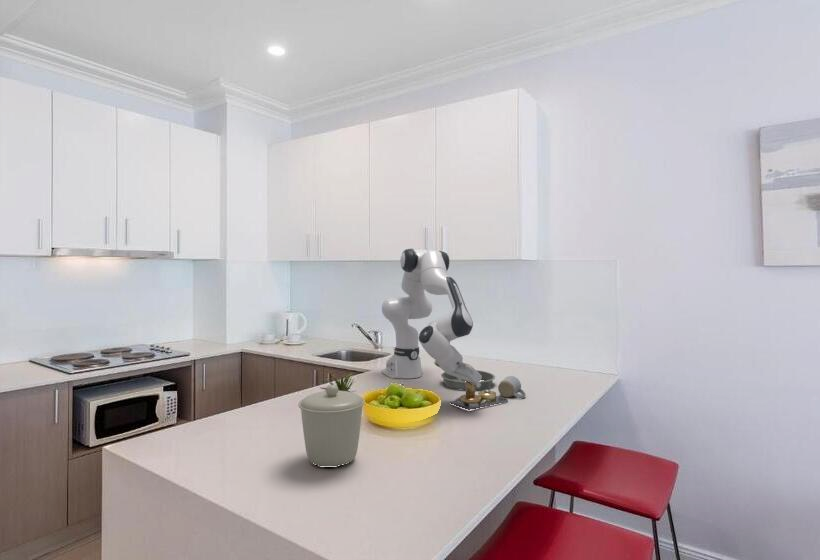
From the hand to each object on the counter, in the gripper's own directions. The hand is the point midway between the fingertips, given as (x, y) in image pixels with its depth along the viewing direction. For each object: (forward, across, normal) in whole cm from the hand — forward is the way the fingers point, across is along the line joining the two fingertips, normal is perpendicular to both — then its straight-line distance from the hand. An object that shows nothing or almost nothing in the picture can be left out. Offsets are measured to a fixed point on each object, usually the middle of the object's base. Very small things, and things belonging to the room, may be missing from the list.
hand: (471, 383), depth 180 cm
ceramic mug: (+22, +2, -10) cm, 25 cm away
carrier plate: (+9, 0, +3) cm, 9 cm away
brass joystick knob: (+5, 0, +6) cm, 7 cm away
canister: (-40, -23, +52) cm, 69 cm away
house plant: (-29, +11, +41) cm, 51 cm away
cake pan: (+19, +27, -6) cm, 34 cm away
